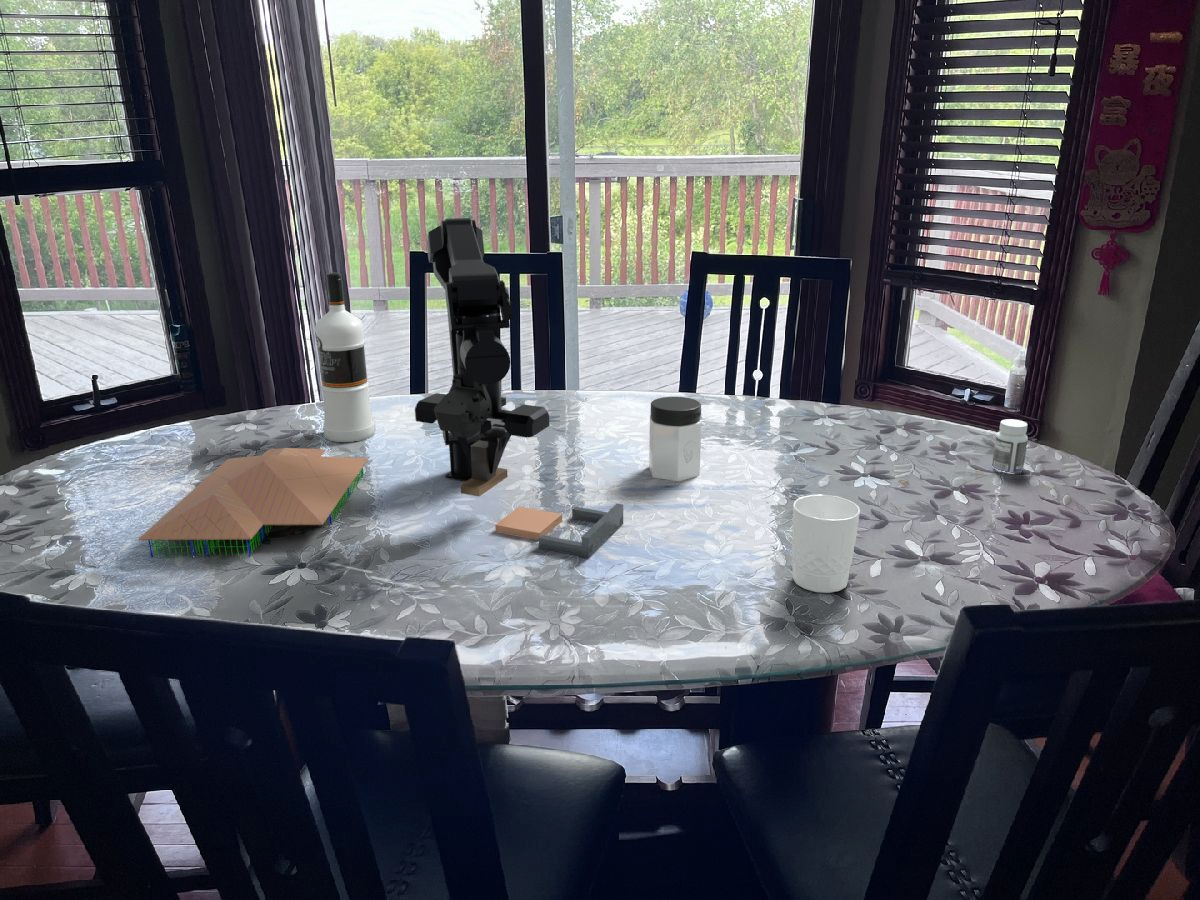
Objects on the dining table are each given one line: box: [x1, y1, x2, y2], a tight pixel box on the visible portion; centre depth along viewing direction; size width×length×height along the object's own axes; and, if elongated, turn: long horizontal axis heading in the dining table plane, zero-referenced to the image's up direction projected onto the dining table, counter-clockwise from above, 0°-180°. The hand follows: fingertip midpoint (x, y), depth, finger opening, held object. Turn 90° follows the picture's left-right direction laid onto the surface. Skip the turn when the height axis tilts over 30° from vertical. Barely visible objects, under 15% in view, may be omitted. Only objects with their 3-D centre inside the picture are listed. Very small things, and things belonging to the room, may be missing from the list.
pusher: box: [460, 440, 508, 497], centre depth 127 cm, size 3×8×6 cm, turn 156°
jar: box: [648, 396, 702, 482], centre depth 144 cm, size 9×8×12 cm
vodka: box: [314, 271, 377, 443], centre depth 159 cm, size 9×9×30 cm
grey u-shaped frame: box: [538, 503, 624, 560], centre depth 123 cm, size 8×12×3 cm, turn 156°
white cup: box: [791, 494, 861, 594], centre depth 109 cm, size 8×8×10 cm
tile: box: [494, 506, 563, 541], centre depth 127 cm, size 7×7×2 cm
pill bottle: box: [991, 418, 1029, 472], centre depth 145 cm, size 5×5×8 cm
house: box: [137, 447, 369, 558], centre depth 132 cm, size 23×33×8 cm
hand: (484, 471), depth 127 cm, fingers closed on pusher, 2 cm apart
